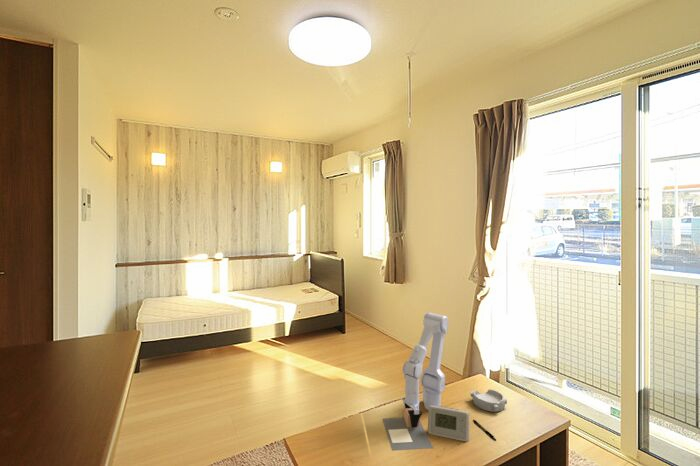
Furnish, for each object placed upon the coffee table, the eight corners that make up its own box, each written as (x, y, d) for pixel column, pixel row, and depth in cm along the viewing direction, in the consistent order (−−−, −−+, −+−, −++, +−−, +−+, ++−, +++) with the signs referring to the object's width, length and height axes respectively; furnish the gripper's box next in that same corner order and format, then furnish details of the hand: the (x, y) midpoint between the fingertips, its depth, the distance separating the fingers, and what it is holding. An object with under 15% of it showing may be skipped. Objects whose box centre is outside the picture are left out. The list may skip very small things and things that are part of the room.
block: (404, 419, 143) (404, 408, 143) (415, 419, 144) (415, 407, 144) (407, 426, 138) (407, 415, 138) (419, 426, 139) (419, 414, 139)
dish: (466, 401, 160) (466, 391, 160) (487, 394, 166) (487, 385, 166) (490, 417, 147) (491, 406, 147) (512, 409, 153) (512, 399, 153)
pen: (471, 422, 144) (470, 419, 144) (474, 420, 145) (474, 418, 145) (493, 442, 131) (493, 440, 131) (497, 440, 131) (496, 438, 131)
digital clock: (425, 434, 135) (425, 409, 134) (431, 423, 142) (432, 399, 142) (467, 448, 126) (467, 421, 126) (471, 435, 134) (471, 410, 134)
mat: (382, 420, 144) (382, 418, 144) (418, 418, 145) (418, 416, 145) (392, 452, 124) (392, 450, 124) (433, 450, 125) (433, 447, 125)
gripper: (398, 382, 147) (398, 411, 148) (407, 399, 133) (406, 432, 133) (414, 381, 148) (413, 411, 148) (424, 398, 134) (423, 431, 134)
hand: (411, 421), depth 141 cm, fingers open, 7 cm apart
